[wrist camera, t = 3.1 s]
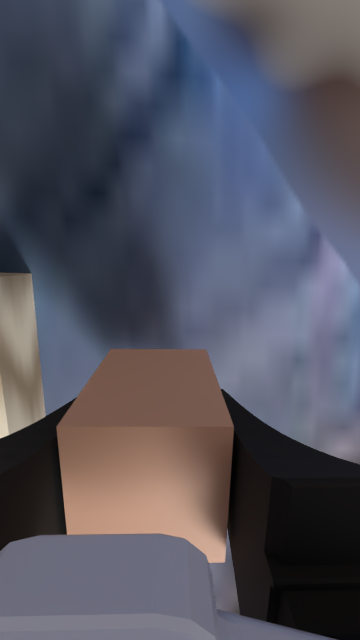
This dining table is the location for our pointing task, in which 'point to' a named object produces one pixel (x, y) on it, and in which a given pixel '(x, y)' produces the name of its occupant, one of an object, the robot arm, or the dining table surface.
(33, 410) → the birch base
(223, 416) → the terracotta block
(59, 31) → the dining table surface
